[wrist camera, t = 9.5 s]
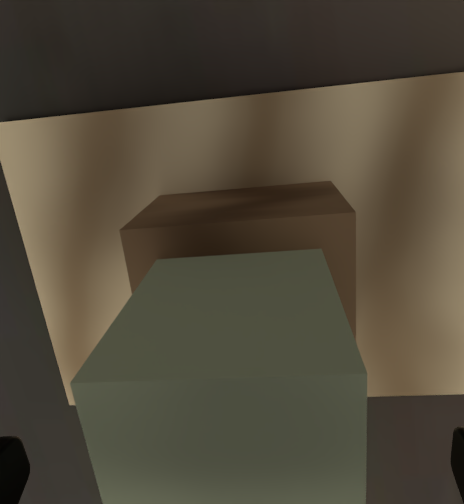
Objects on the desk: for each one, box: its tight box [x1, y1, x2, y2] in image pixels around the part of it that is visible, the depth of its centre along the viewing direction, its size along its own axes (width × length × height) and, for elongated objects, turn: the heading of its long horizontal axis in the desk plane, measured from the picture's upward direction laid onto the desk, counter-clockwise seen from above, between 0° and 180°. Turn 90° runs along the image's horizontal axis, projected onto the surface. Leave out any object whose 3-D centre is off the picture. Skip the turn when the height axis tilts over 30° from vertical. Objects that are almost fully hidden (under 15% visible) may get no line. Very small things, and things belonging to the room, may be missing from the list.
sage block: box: [70, 249, 367, 504], centre depth 11 cm, size 5×5×6 cm
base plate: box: [0, 72, 464, 405], centre depth 16 cm, size 20×14×6 cm
